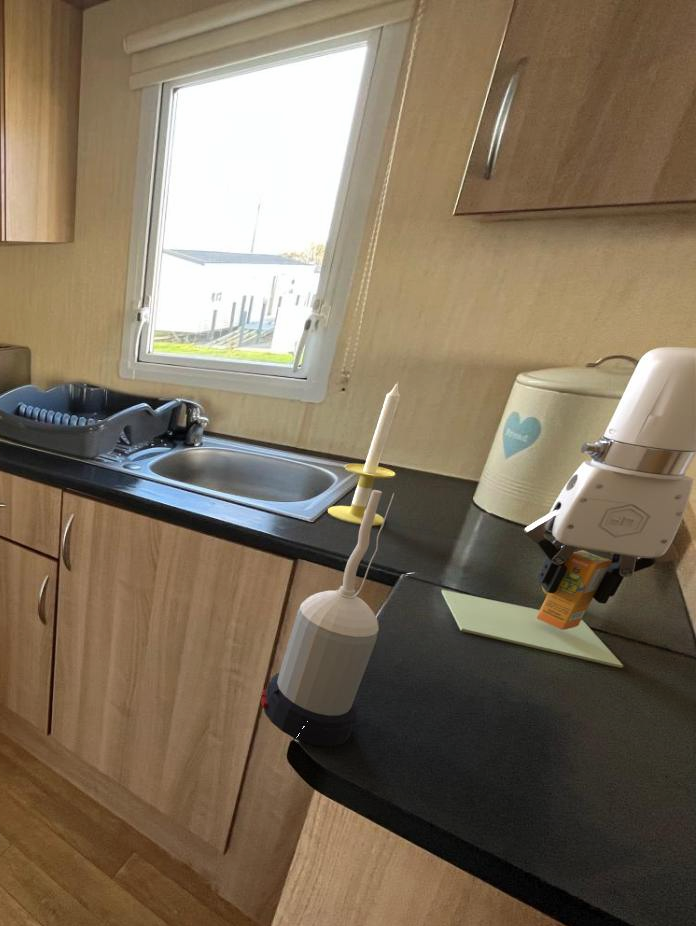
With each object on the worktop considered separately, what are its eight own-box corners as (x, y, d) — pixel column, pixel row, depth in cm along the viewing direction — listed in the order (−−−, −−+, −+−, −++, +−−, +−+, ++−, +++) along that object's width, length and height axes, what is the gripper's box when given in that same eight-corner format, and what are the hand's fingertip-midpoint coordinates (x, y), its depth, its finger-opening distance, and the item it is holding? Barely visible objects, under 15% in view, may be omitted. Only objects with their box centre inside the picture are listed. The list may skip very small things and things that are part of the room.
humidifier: (245, 695, 60) (304, 478, 50) (309, 686, 62) (378, 474, 52) (299, 752, 53) (381, 511, 43) (369, 740, 54) (463, 506, 45)
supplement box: (532, 618, 74) (565, 551, 70) (549, 614, 75) (582, 548, 71) (562, 631, 71) (598, 563, 67) (579, 627, 72) (615, 560, 68)
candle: (395, 521, 110) (442, 384, 99) (365, 528, 105) (411, 386, 95) (346, 504, 118) (385, 376, 107) (316, 511, 114) (354, 378, 103)
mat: (580, 621, 77) (581, 618, 77) (622, 668, 67) (623, 665, 67) (441, 591, 83) (442, 589, 83) (460, 631, 73) (461, 628, 73)
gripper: (559, 454, 65) (498, 589, 72) (768, 479, 58) (677, 625, 65) (536, 441, 71) (482, 566, 78) (722, 462, 64) (644, 597, 71)
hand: (571, 592), depth 71 cm, fingers closed on supplement box, 4 cm apart
